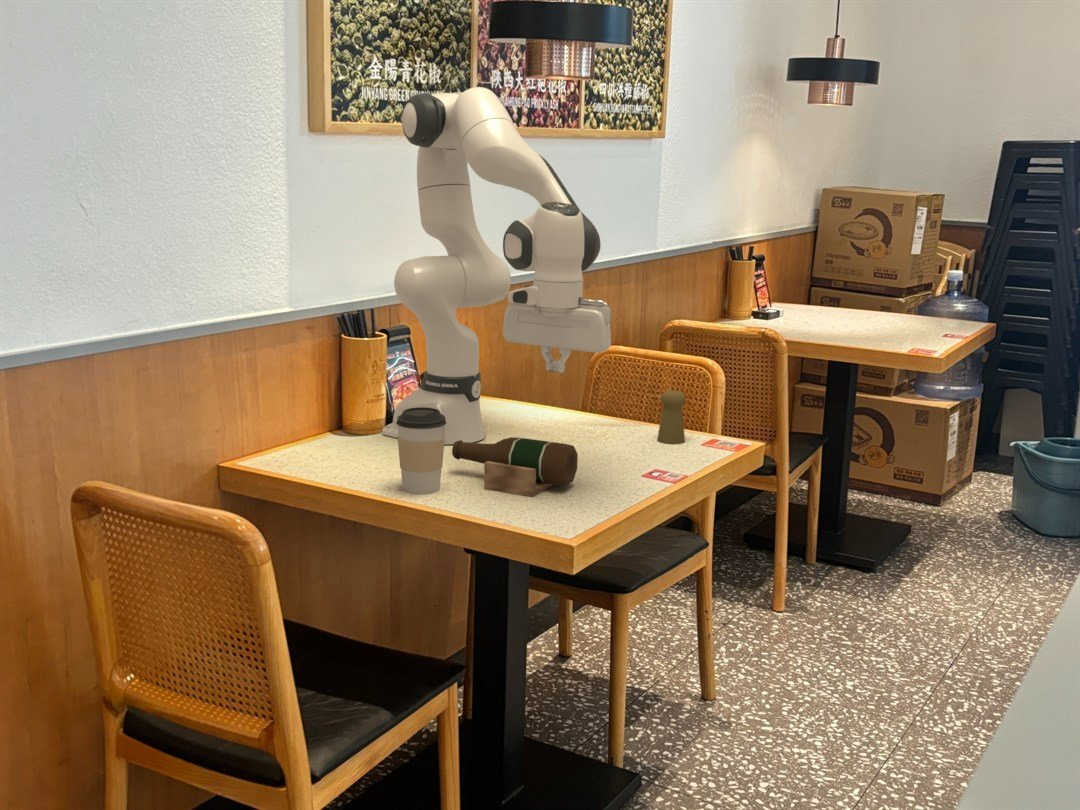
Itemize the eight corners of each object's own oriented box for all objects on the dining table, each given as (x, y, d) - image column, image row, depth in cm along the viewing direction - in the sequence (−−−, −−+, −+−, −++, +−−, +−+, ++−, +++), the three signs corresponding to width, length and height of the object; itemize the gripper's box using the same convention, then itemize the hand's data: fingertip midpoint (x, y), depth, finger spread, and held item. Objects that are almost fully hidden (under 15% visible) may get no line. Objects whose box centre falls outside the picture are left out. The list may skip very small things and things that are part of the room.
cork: (682, 437, 252) (685, 388, 250) (686, 444, 247) (689, 394, 244) (655, 436, 252) (657, 387, 250) (658, 444, 246) (661, 394, 244)
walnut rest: (484, 488, 212) (484, 462, 211) (515, 472, 223) (515, 447, 222) (532, 497, 208) (533, 470, 207) (561, 479, 219) (562, 454, 218)
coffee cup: (386, 488, 211) (385, 408, 208) (422, 478, 218) (422, 401, 214) (419, 499, 205) (419, 417, 202) (456, 488, 212) (456, 409, 208)
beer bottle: (565, 495, 211) (449, 477, 220) (580, 469, 217) (466, 453, 226) (560, 461, 207) (442, 444, 216) (575, 436, 213) (460, 421, 222)
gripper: (618, 298, 203) (615, 375, 206) (515, 288, 212) (514, 362, 215) (604, 303, 198) (601, 381, 201) (499, 292, 206) (498, 367, 210)
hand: (555, 371), depth 208 cm, fingers closed
